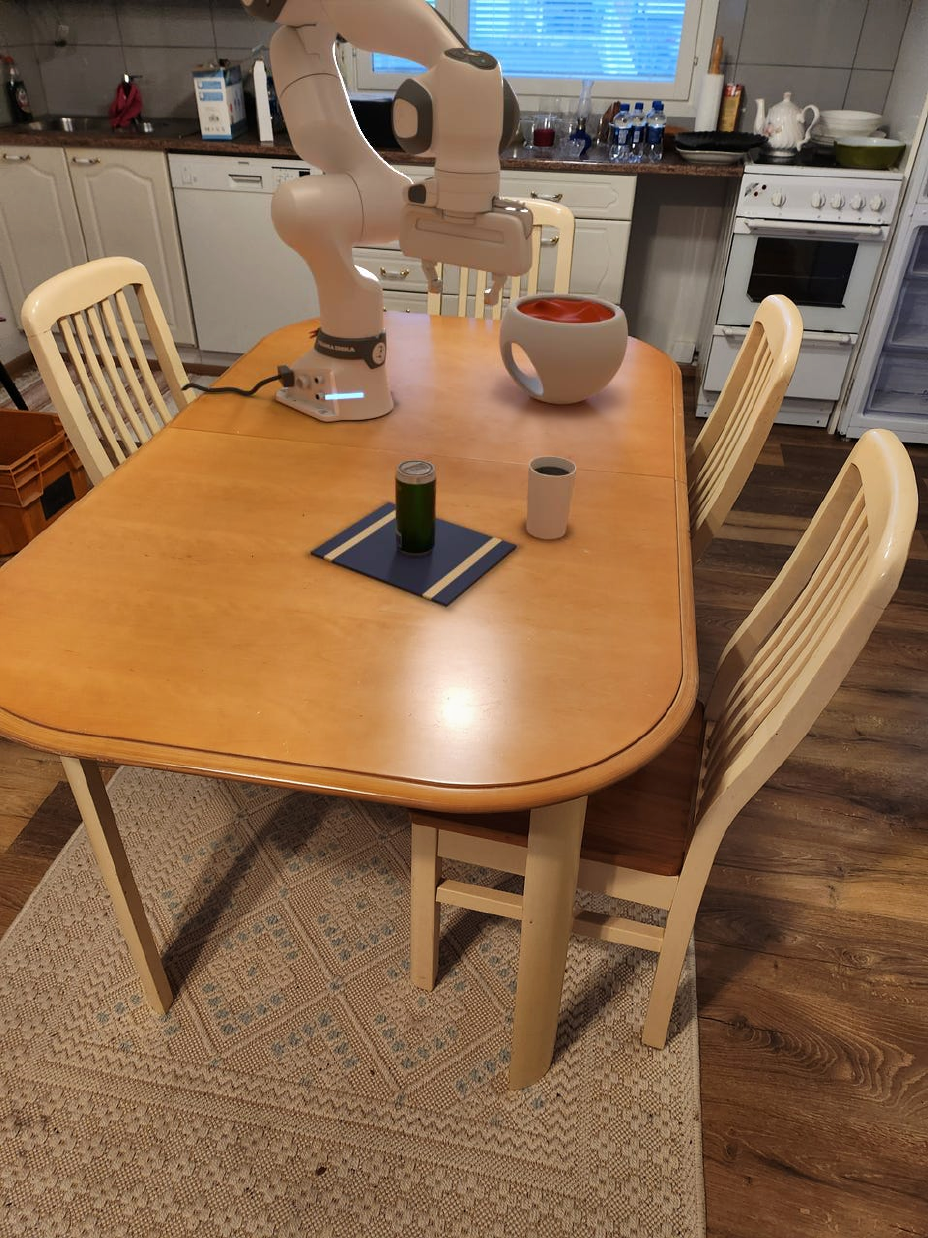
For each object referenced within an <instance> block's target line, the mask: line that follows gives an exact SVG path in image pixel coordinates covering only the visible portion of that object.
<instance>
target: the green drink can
mask: <svg viewBox="0 0 928 1238" xmlns="http://www.w3.org/2000/svg"><path fill="white" fill-rule="evenodd" d="M394 488H395V489H394V492H395V494H394V496H395V498H394V501H395V502H394V504H396V546H397V548H398V550H399V551H400V553H402V554H404V555H406V556H411V557H421V556H425V555H427V554H429V553H430V552H432V550H433V548H434V546H435V522H436V518H437V516H436V514H437V473H436V468H435V465H434V464H433V463H431V462H429V461H426V460H422V459H408V460H405V461H402V462H400V463H398V464H397V466H396V471H395V475H394Z"/></svg>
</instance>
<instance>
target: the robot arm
mask: <svg viewBox="0 0 928 1238" xmlns="http://www.w3.org/2000/svg"><path fill="white" fill-rule="evenodd" d="M239 1H240V4H241V5H242V7H243V8H244V10H245V12H246V13H247V14H248V15H249V16H250V17H252V18H254V19H256V20H259V21H261V22H264V23H268V24H274V23H277V24H281V25H282V26H280V27H279V28H278V29H277V30H276V31H275V32H274V33H273V35H272V37H271V40H270V41H269V60H270V67H271V74H272V80H273V84H274V88H275V92H276V93H275V94H276V96H277V97H276V98H277V100H278V104H279V107H280V110H281V113H282V116H283V119H284V122H285V126H286V130H287V132H288V136H289V139H290V142H291V144H292V145H291V146H292V147H293V150H294V151H295V153H296V154H297V155H298V157H299V158H300V159H301V160H303V162H305V163H306V164H308V165H310V166H312V167H314V168H316V169H317V170H319V171H321V172H322V173H324V174H306V175H303V176H299V177H296V178H293V179H289V180H286V181H283V182H280V183H279V184H278V186H277V187H276V188H275V191H274V192H273V195H272V198H271V203H270V217H271V222H272V226H273V228H274V230H275V232H276V234H277V235H278V237H279V238H280V240H281V241H282V242H283V243H284V244H285V245H286V246H288V247H289V248H291V249H292V250H293V251H294V252H296V253H297V255H299V256H300V257H301V258H302V260H303V261H304V262H305V264H306V265H307V267H308V268H309V271H310V272H311V274H312V277H313V280H314V282H315V286H316V291H317V298H318V307H319V318H320V319H319V320H320V326H319V327H317V328H316V329H314V330H312V331H309V332H308V334H311V335H309V337H308V338H309V339H310V340H311V339H314V338H315V342H314V344H313V347H311V349H310V350H308V351H307V352H306V353H304V354H303V355H302V356H301V357H299V358H298V359H297V360H296V361H294V362H293V363H292V364H291V365H290V367H289V366H288V364H284V365H277V368H276V369H277V374H276V375H273V376H270V377H268V378H265V379H263V380H261V381H259V382H258V383H256V384H255V385H254V386H253V387H252V388H251V389H249V390H245V389H241V388H239V387H235V386H224V387H223V386H222V387H207V386H203V385H201V384H198V383H195V382H189V383H186V384H184V385H183V386H182V387H181V388H180V391H183V392H184V391H187V390H189V389H196V390H199V391H202V392H204V393H212V394H213V393H227V392H228V393H229V392H231V393H236V394H239V395H243V396H252V395H254V394H256V393H257V392H258V391H259V390H260V388H261V387H263V386H266V385H267V384H270V383H273V382H276V381H278V382H279V383H280V384H281V386H282V387H281V388H280V389H279V390H278V391H277V392H276V394H275V401H276V402H279V403H281V404H284V405H285V406H288V407H290V408H292V409H295V410H297V411H299V412H301V413H304V414H305V415H307V416H310V417H312V418H315V419H317V420H319V421H322V422H324V423H325V422H327V423H329V422H336V421H360V420H361V421H362V420H370V419H375V418H378V417H383V416H384V415H386V414H389V413H390V412H391V411H392V410H393V409H394V407H395V404H394V401H393V397H392V394H391V389H390V385H389V380H388V371H387V366H386V359H387V350H388V349H387V348H388V347H387V329H386V328H385V327H384V325H385V324H384V322H385V321H384V290H383V286H382V284H381V282H380V280H379V279H378V277H377V276H375V275H374V274H373V273H372V272H370V271H368V270H367V269H365V268H363V267H361V266H358V265H356V263H355V261H354V257H353V248H356V247H363V246H375V245H385V244H389V243H393V242H397V241H398V247H399V249H400V252H401V253H402V255H403V256H404V257H408V258H411V259H412V258H413V259H417V260H421V269H422V272H423V273H424V275H425V278H426V280H427V291H428V293H429V294H435V295H439V294H441V293H443V291H444V287H443V285H444V279H441V278H439V275H438V273H437V270H436V267H437V266H438V263H440V264H445V265H449V266H450V265H451V266H454V267H461V268H465V269H466V268H467V269H470V270H476V271H480V272H481V271H482V272H487V273H491V277H490V278H491V281H493V284H492V285H491V288H490V289H488V290H485V291H483V298H484V299H483V304H484V305H487V306H492V307H494V306H497V305H498V304H499V300H500V292H501V290H502V288H503V287H504V285H505V284H506V282H507V281H508V276H509V277H515V278H517V277H522V276H524V275H526V274H527V273H528V272H529V271H530V270H531V269H532V267H533V258H534V257H533V251H534V250H533V229H534V221H535V220H534V219H535V218H534V217H535V215H534V212H532V210H531V208H530V207H529V206H528V205H526V203H525V202H524V201H523V200H516V199H515V200H512V199H508V198H503V197H500V183H501V162H500V161H501V160H500V156H501V155H502V154H503V153H504V152H505V151H506V150H507V149H508V148H509V147H510V145H511V143H512V142H513V140H514V139H515V137H516V135H517V132H518V129H519V127H520V122H521V109H520V105H519V100H518V98H517V94H516V93H515V91H514V89H513V87H512V86H511V84H510V82H508V80H507V79H506V78H505V77H504V76H503V74H502V73H503V72H502V68H501V64H500V62H499V60H498V59H497V58H496V57H495V56H494V55H492V54H490V53H488V52H486V51H483V50H480V49H473V48H471V47H470V45H468V43H467V42H466V41H465V40H464V39H463V37H462V36H461V35H460V34H459V33H458V31H457V30H456V29H455V28H454V27H453V26H452V24H451V23H450V22H449V21H448V20H447V18H446V17H445V16H444V15H443V14H442V13H441V12H440V11H438V9H436V8H435V7H434V6H433V5H432V4H430V3H429V2H428V1H427V0H239ZM336 41H337V42H338V43H340V44H347V43H349V44H350V45H352V46H353V47H355V48H356V49H359V50H361V51H365V52H369V53H374V54H379V55H386V56H392V57H396V58H401V59H404V60H408V61H411V62H414V63H417V64H419V65H420V66H422V67H424V68H425V69H427V71H426V72H423V73H420V74H418V75H416V76H414V77H411V78H406V79H405V80H403V82H402V83H401V84H400V85H399V87H398V88H397V90H396V92H395V93H394V97H393V99H392V103H391V109H390V110H391V111H390V115H391V116H390V117H391V128H392V129H391V130H392V134H393V136H394V138H395V139H396V141H397V143H398V145H399V146H400V147H401V148H402V150H404V152H406V153H407V154H408V155H410V156H415V157H419V158H435V163H434V169H433V170H434V171H433V176H430V177H426V178H424V179H423V180H420V181H415V182H413V181H412V180H411V178H409V177H408V176H406V175H405V174H403V173H401V172H399V171H398V170H397V169H394V168H393V167H392V166H391V165H389V164H388V163H387V162H386V161H385V160H384V159H383V158H382V157H381V156H380V155H379V154H378V153H377V152H376V150H375V149H374V148H373V147H372V146H371V145H370V143H369V142H368V140H367V139H366V138H365V137H366V136H364V134H363V132H362V131H361V129H360V126H359V124H358V121H357V119H356V116H355V113H354V111H353V108H352V105H351V103H350V99H349V96H348V93H347V90H346V87H345V84H344V81H343V77H342V75H341V72H340V70H339V67H338V63H337V59H336V55H335V43H336ZM208 388H209V389H208Z"/></svg>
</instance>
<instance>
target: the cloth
mask: <svg viewBox="0 0 928 1238" xmlns="http://www.w3.org/2000/svg"><path fill="white" fill-rule="evenodd" d="M517 546H518V545H517V544H515V543H512V542H509V541H506V540H504V539H501V538H498V537H495V536H491V535H488V534H486V533H482V532H480V531H476V530H473V529H470V528H467V527H464V526H461V525H459V524H456V523H452V522H450V521H447V520H444V519H440V518H437V517H436V522H435V546H434V548H433V550H432V552H430V553H429V554H427V555H425V556H421V557H411V556H406V555H404V554H402V553H400V551H399V550H398V548H397V546H396V504H395V503H393V502H390V501H388V502H386V503H385V504H383V505H382V506H380V507H379V508H377V509H375V510H374V511H372V512H371V513H369V514H368V515H366V516H364V517H363V518H361V519H360V520H358V521H357V522H355V523H353V524H352V525H350V526H348V527H347V528H346V529H343V530H342V531H340V532H339V533H338V534H336V535H335V536H333V537H331V538H329V539H328V540H327V541H325V542H324V543H322V544H320V545H319V546H318V547H316V548H314V549H313V550H310V555H311V556H314V557H317V558H320V559H322V560H325V561H327V562H330V563H332V564H335V565H336V566H337V565H338V566H340V567H343V568H345V569H348V570H350V571H353V572H355V573H358V574H361V575H363V576H366V577H369V578H372V579H374V580H377V581H379V582H381V583H384V584H387V585H389V586H392V587H395V588H397V589H400V590H402V591H405V592H407V593H410V594H413V595H416V596H417V597H420V598H423V599H426V600H429V601H431V602H433V603H437V604H438V605H441V606H444V607H445V608H446V607H448V606H450V605H451V604H452V603H453V602H454V601H455V600H457V599H458V598H459V597H460V596H461V595H462V594H463V593H465V592H466V591H467V590H468V589H469V588H470V587H472V586H473V585H474V584H475V583H476V582H478V581H479V580H480V579H481V578H483V576H484V575H486V574H488V572H489V571H490V570H491V569H493V568H494V567H495V566H496V565H498V564H499V563H500V562H501V561H502V560H504V559H505V557H507V556H509V554H511V553H512V552H513V551H514V550H515V549H517Z"/></svg>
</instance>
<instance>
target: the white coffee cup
mask: <svg viewBox="0 0 928 1238" xmlns="http://www.w3.org/2000/svg"><path fill="white" fill-rule="evenodd" d="M527 473H528V475H527V476H528V477H527V501H526V524H525V525H526V526H525V527H526V529H525V531H526V532H527V533H528V534H529V535H531V536H532V537H534V538H538V539H542V540H554V539H555V540H557V539H559V538H562V537H563V536H564V535H565V534H566V533H567V527H568V520H569V516H570V515H569V514H570V508H571V502H572V497H573V496H572V495H573V492H574V485H575V480H576V479H575V478H576V473H577V465H576V464H575V463H574V461H571V460H570V459H567V458H566V457H565V458H564V457H561V456H554V455H543V456H537V457H534V458H532V459H531V460H530V461H529V462H528V472H527Z"/></svg>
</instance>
